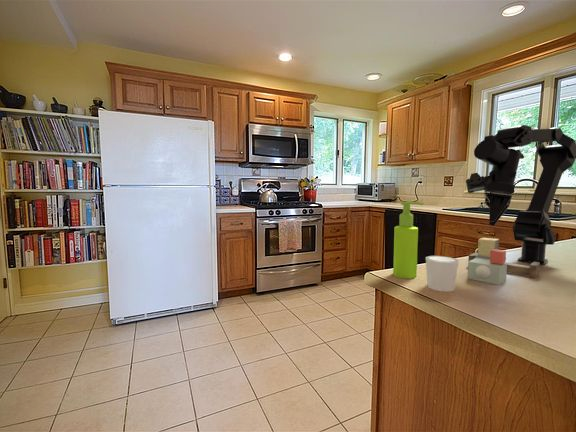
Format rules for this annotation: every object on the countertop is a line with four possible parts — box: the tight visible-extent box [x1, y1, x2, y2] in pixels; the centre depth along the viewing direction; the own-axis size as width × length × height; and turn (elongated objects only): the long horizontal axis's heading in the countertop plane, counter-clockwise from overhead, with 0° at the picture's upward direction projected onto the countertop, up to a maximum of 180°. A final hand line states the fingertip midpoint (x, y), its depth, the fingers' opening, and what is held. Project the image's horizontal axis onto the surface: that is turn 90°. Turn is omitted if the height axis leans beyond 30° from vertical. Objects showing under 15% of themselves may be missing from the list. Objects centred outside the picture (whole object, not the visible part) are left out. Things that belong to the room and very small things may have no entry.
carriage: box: [475, 237, 500, 260], centre depth 84 cm, size 5×5×8 cm
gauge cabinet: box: [467, 258, 508, 286], centre depth 74 cm, size 6×7×4 cm
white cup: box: [425, 255, 459, 293], centre depth 68 cm, size 7×7×7 cm
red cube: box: [490, 249, 507, 264], centre depth 72 cm, size 3×3×3 cm
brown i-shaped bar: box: [467, 252, 541, 279], centre depth 81 cm, size 15×5×3 cm, turn 40°
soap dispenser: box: [392, 201, 424, 279], centre depth 77 cm, size 6×7×20 cm
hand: (491, 223), depth 81 cm, fingers open, 9 cm apart
